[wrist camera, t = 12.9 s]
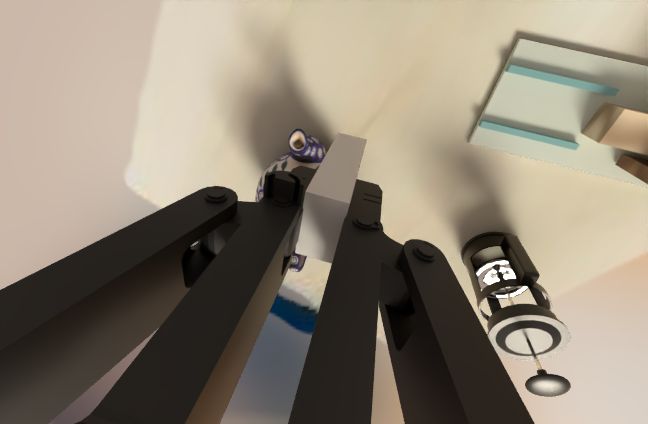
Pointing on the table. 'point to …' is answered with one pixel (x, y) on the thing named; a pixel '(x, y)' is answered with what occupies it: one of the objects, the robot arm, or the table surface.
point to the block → (634, 166)
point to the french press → (517, 309)
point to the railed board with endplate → (560, 107)
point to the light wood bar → (619, 128)
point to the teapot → (303, 154)
